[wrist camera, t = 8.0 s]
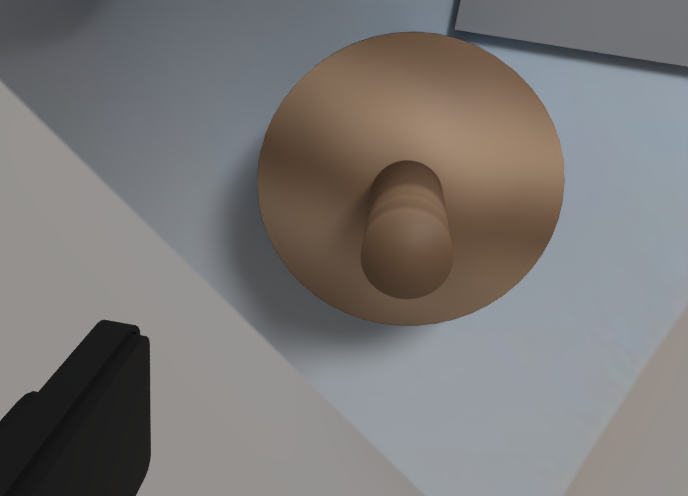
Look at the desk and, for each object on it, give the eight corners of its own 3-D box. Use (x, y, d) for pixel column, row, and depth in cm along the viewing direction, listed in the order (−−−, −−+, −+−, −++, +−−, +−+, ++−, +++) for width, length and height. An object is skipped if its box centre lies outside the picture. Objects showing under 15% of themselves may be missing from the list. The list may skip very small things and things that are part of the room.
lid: (275, 8, 22) (222, 19, 16) (598, 58, 22) (677, 89, 15) (252, 289, 27) (205, 384, 21) (515, 334, 27) (548, 443, 20)
